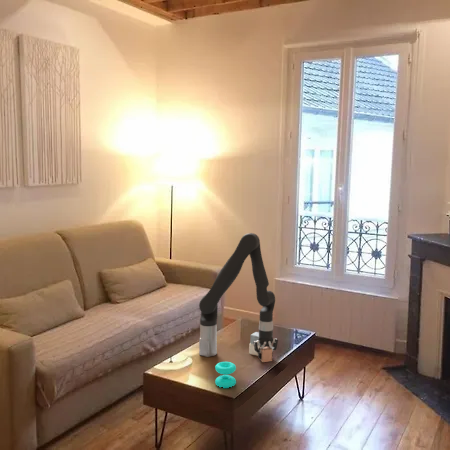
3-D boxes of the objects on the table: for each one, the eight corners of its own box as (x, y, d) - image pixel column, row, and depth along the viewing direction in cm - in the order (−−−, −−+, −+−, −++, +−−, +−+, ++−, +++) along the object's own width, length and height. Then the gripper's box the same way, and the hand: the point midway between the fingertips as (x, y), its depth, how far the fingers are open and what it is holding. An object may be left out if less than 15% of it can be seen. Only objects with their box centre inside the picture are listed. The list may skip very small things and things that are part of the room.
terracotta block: (262, 362, 262) (263, 350, 261) (258, 358, 267) (258, 346, 266) (272, 360, 264) (272, 349, 263) (267, 357, 269) (268, 345, 268)
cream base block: (259, 356, 271) (259, 346, 270) (249, 353, 275) (249, 343, 274) (266, 352, 276) (266, 342, 276) (255, 349, 280) (255, 339, 280)
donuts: (219, 359, 241) (238, 362, 238) (219, 378, 242) (238, 382, 239) (211, 367, 232) (231, 370, 228) (211, 387, 233) (231, 390, 230)
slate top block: (259, 345, 271) (259, 336, 270) (250, 343, 274) (250, 334, 273) (265, 342, 275) (265, 333, 275) (256, 340, 279) (256, 331, 278)
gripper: (256, 332, 258) (255, 362, 260) (281, 329, 262) (280, 359, 265) (250, 327, 265) (250, 357, 267) (275, 324, 269) (274, 354, 272)
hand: (265, 358), depth 266 cm, fingers closed on terracotta block, 5 cm apart
